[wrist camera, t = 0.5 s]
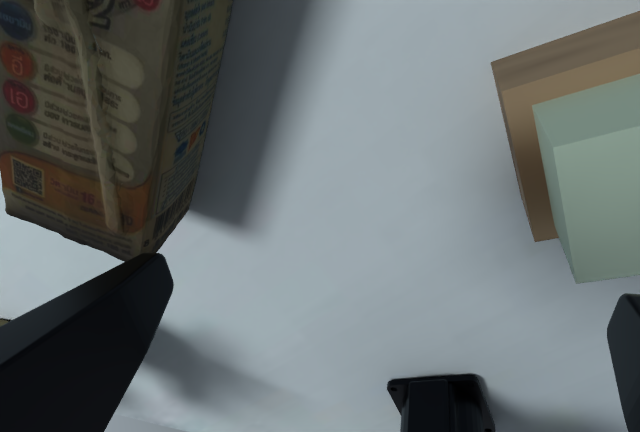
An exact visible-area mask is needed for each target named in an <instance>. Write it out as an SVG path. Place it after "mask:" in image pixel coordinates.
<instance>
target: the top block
mask: <svg viewBox="0 0 640 432" xmlns="http://www.w3.org/2000/svg"><path fill="white" fill-rule="evenodd" d="M532 109H533V114H534V119H535V125H536V130H537V135H538V141H539V146H540V151H541V157H542V162H543V167H544V172H545V178H546V183H547V188H548V194H549V199H550V204H551V210H552V215H553V220H554V226H555V228H556V231H557V234H558V236H559V239H560V242H561V244H562V247H563V250H564V252H565V255H566V258H567V260H568V263H569V266H570V268H571V271H572V274H573V276H574V279H575V282H576V284H578V283H585V282H593V281H600V280H607V279H615V278H622V277H629V276H636V275H640V74H637V75H633V76H630V77H626V78H623V79H620V80H616V81H613V82H610V83H606V84H603V85H599V86H596V87H593V88H589V89H586V90H582V91H579V92H576V93H572V94H569V95H565V96H562V97H559V98H555V99H552V100H548V101H545V102H542V103H538V104H535V105H532Z"/></svg>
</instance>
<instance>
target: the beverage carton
mask: <svg viewBox="0 0 640 432" xmlns="http://www.w3.org/2000/svg"><path fill="white" fill-rule="evenodd" d="M232 3H233V0H0V171H1V178H2V191H3V194H4V197H5V203H6V209H5V211H6V213H7V214H9V215H10V216H14V217H17V218H19V219H21V220H24V221H28V222H31V223H34V224H37V225H39V226H41V227H43V228H46V229H48V230H51V231H54V232H57V233H59V234H60V235H62V236H63V237H64V238H67V239H70V240H73V241H75V242H77V243H79V244H82V245H88V246H90V247H92V248H95V249H98V250H101V251H104V252H106V253H108V254H109V255H111V256H113V257H115V258H117V259H120V260H122V261H125V262H126V261H128V260H130V259H132V258H134V257H136V256H138V255H140V254H142V253H145V252H149V253H156V252H157V251H158V250H159V249H160V247H161V246H162V245H163V243H164V242H165V241H166V239H167V238H168V236H169V235H170V234H171V233H172V232H173V230H174V229H175V228H176V226H177V224H178V223H179V222H180V221H181V219H182V218H183V217H184V215H185V214H186V213H187V211H188V209H189V204H190V201H191V198H192V194H193V190H194V186H195V182H196V178H197V173H198V168H199V164H200V159H201V155H202V150H203V145H204V141H205V136H206V130H207V125H208V120H209V115H210V112H211V107H212V101H213V97H214V92H215V87H216V82H217V77H218V72H219V67H220V62H221V57H222V52H223V47H224V43H225V38H226V33H227V28H228V23H229V18H230V13H231V9H232Z"/></svg>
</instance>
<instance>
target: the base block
mask: <svg viewBox="0 0 640 432" xmlns="http://www.w3.org/2000/svg"><path fill="white" fill-rule="evenodd" d="M491 66H492V70H493V75H494V79H495V83H496V88H497V92H498V97H499V101H500V105H501V110H502V114H503V119H504V123H505V127H506V132H507V136H508V141H509V145H510V149H511V154H512V158H513V163H514V167H515V171H516V176H517V180H518V185H519V189H520V193H521V197H522V201H523V204H524V207H525V211H526V214H527V217H528V221H529V224H530V227H531V231H532V234H533V237H534V241H535V242H538V241H544V240H549V239H555V238H559V236H558V234H557V231H556V228H555V226H554V220H553V215H552V210H551V204H550V199H549V194H548V188H547V183H546V178H545V172H544V167H543V162H542V157H541V151H540V146H539V141H538V135H537V130H536V125H535V119H534V114H533V109H532V105H535V104H538V103H542V102H545V101H548V100H552V99H555V98H559V97H562V96H565V95H569V94H572V93H576V92H579V91H582V90H586V89H589V88H593V87H596V86H599V85H603V84H606V83H610V82H613V81H616V80H620V79H623V78H626V77H630V76H633V75H637V74H640V11H638V12H635V13H632V14H629V15H626V16H623V17H621V18H618V19H615V20H612V21H609V22H606V23H603V24H600V25H597V26H594V27H592V28H589V29H586V30H583V31H580V32H577V33H574V34H571V35H568V36H565V37H563V38H560V39H557V40H554V41H551V42H548V43H545V44H542V45H539V46H536V47H534V48H531V49H528V50H525V51H522V52H519V53H516V54H513V55H510V56H507V57H505V58H502V59H499V60H496V61H493V62H491Z"/></svg>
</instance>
